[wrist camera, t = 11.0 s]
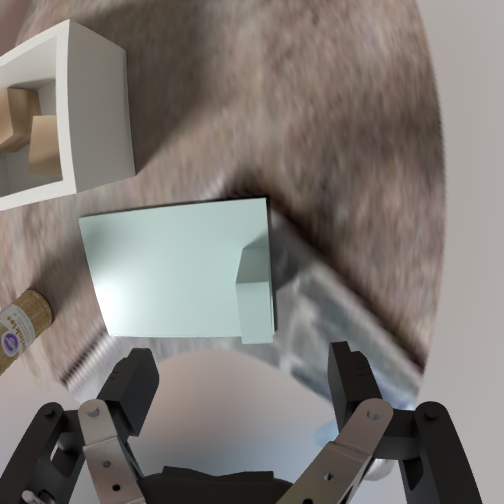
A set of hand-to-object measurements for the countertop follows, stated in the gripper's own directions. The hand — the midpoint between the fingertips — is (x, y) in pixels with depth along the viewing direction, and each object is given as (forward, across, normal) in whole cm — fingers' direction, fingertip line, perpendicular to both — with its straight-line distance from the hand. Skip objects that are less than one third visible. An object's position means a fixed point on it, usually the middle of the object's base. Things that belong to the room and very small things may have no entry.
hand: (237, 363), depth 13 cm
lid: (+11, +6, 0) cm, 13 cm away
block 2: (+10, +12, -11) cm, 19 cm away
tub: (+11, +15, -13) cm, 22 cm away
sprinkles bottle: (+11, +22, +3) cm, 25 cm away
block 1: (+10, +18, -14) cm, 25 cm away
